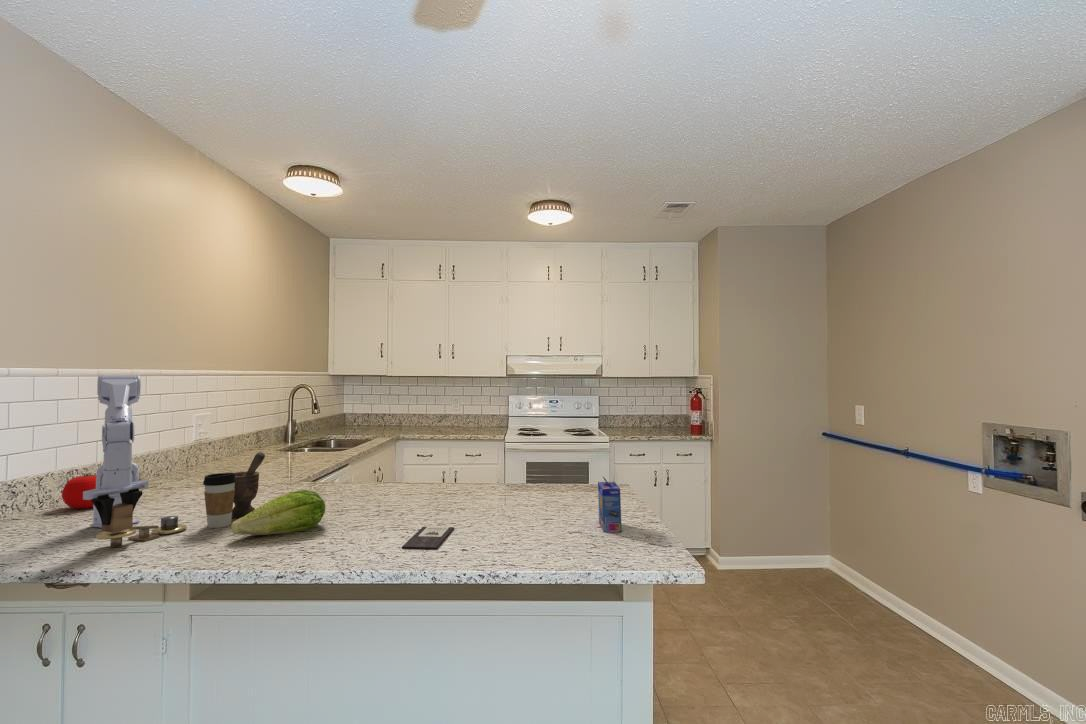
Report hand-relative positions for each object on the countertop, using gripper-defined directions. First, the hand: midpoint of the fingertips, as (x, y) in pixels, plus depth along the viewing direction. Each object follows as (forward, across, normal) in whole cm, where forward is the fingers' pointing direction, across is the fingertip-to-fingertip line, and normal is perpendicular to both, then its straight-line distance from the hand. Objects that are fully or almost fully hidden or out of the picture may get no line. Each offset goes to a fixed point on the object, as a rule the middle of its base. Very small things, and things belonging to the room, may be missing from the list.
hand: (116, 522), depth 137 cm
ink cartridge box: (+6, +56, -117) cm, 130 cm away
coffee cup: (+6, +23, -8) cm, 25 cm away
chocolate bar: (+7, +31, -73) cm, 79 cm away
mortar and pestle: (+6, +34, -7) cm, 35 cm away
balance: (+6, +7, 0) cm, 9 cm away
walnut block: (+2, 0, 0) cm, 2 cm away
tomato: (+6, +26, +53) cm, 59 cm away
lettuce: (+6, +23, -30) cm, 38 cm away
